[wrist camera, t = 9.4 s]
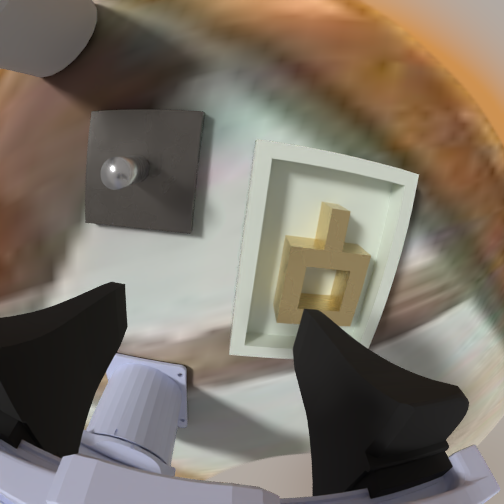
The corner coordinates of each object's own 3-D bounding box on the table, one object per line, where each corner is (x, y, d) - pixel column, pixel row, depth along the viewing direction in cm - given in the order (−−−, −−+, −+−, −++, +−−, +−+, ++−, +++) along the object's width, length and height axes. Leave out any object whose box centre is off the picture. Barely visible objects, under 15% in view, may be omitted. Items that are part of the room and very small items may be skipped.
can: (108, -10, 13) (33, -81, 1) (96, 65, 15) (-15, 16, 4) (37, 18, 12) (-48, -17, 1) (25, 90, 15) (-82, 80, 4)
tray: (355, 344, 23) (363, 359, 21) (230, 337, 23) (229, 354, 21) (402, 171, 19) (418, 174, 17) (255, 140, 18) (257, 139, 16)
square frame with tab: (340, 309, 22) (350, 326, 19) (273, 305, 21) (276, 322, 19) (365, 208, 19) (380, 216, 17) (291, 196, 19) (298, 203, 16)
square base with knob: (192, 230, 20) (179, 251, 15) (90, 219, 19) (59, 236, 15) (204, 113, 17) (194, 101, 13) (97, 112, 16) (64, 106, 12)
